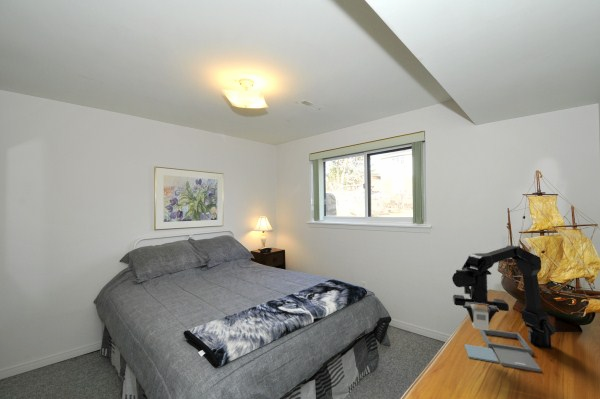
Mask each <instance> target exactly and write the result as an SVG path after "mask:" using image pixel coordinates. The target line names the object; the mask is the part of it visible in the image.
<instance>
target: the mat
mask: <svg viewBox="0 0 600 399" xmlns="http://www.w3.org/2000/svg"><path fill="white" fill-rule="evenodd" d="M463 346H464V348H465V351H466V354H467V357H468V359H473V360H474V359H475V360H480V361H486V362H491V363H497V364H499V363H500V362H499V360H498V358H497V356H496V354H495V352H494V351H493V349H492V348H488V347H487V346H486V347H485V346H479V345H473V344H472V345H471V344H466V343H464V345H463Z"/></svg>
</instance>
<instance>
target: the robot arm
mask: <svg viewBox="0 0 600 399" xmlns="http://www.w3.org/2000/svg"><path fill="white" fill-rule="evenodd" d="M508 259H512V260H513V261H514V262H515V265H516V267H517V269H518V271H519V272H520V273H521V274H522V275H521V276H522V280H523V281H522V282H523V290H524V297H525V305H526V306H525V308H524V309H521V311H520V313H521V319H522V320H523V322H524V325H525V327H527V328H529V330H528V336H527V337H528V341H529V342H530V343H531V345H532V346H533V347H535V348H542V349H549V350H554V347H553V346H552V336H553V335H555V334H556V327H554V326H553V324H552V323H551V322H550V320H549V317H548V313H547V312H546V311H545V310H544V309H543V307H542V300H541V294H540V285H539V277H538V275H539V273H540V271H541V270H542V258H541V257H540V256H538V255H536V254H533V253H531V252H529V251H528V250H526V249H523V248H522V247H520V246H519V245H507V246H506V247H505V246H504V247H502V248H499V249H496V250H492V251H489V252H483V253H480V252H479V253H477V252H476V253H471V254H469V255H468V257H467V258H466V260H465V262H464V264H463V265H462V267H461V269H456V270H455V273H454V274H453V275H452V278H451V280H452V283H453V284H454V286H456V287H457V288H463V291H464V294H465V295H469V298H467V297H465V296H464V295H463V294H453V295H452V301H453V304H454V305H455V306H460V307H462V308H464V309H466V310H467V313H468V316H469V318H470V321H471V324H472V323H473V314H472V307H473V306H472V305H477V306H478V305H479V306H486V310H487V312H488V321H489V324H490V322H491V321H492V319H493V318H494V316H495V314H496V313H499V312H500V311H502V312H510V306H509V304H508V303H507V302H506V301H505V300H504V299H498V298H493V299H492V300H488V294H489V293H488V292H489V291H488V276H489V275H490V276H491V275H492V272H491V271H490V269H491V268H492V267H493V266H494V264H496V263H499V262H503V261H505V260H508Z"/></svg>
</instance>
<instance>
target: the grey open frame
mask: <svg viewBox="0 0 600 399" xmlns="http://www.w3.org/2000/svg"><path fill="white" fill-rule="evenodd" d="M479 332H480V335H481V337H482V338H483V339H482V340H484V343H485V344H486V348H492V350H493V352H494V354H495V355H496V357H497V359H498V361H499V363H500V365H501V366H503V367H505V366H506V367H510V368H517V369H522V370H528V371H532V372H533V371H534V372H539V373H542V368H541V367H540V365H539V364H538V363H537V362H536V361H535V359H534V358H533V357H532V356H533V354H534V353H533V349H532V348H531V346H530V345H529V344H528V343H527V341H526V340H525V339H524V337H522V336H521V333H519V332H513V331H512V332H511V331H503V330H496V329H489V331H488V330H481V329H479ZM487 335H490V336H491V335H492V336H497V337H499V336H500V337H503V338H504V337H505V338H512V339H516V340H518V342H519V343H520V344H521V345H522V347H521V346H516V345H507V344H502V343H501V344H500V343H495V342H490V340H489V338H488V336H487Z"/></svg>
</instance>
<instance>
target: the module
mask: <svg viewBox="0 0 600 399" xmlns="http://www.w3.org/2000/svg"><path fill="white" fill-rule="evenodd" d="M471 307H472V314H473V323H472V322H471V325H472V327H473V329H474V330H475V329H476V330H480V329H481V330H488V331H489V328H490V326H489V325H490V323H489V321H488V312H487V308H483V307H473V306H471Z"/></svg>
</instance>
